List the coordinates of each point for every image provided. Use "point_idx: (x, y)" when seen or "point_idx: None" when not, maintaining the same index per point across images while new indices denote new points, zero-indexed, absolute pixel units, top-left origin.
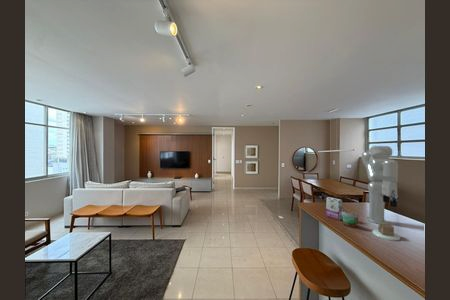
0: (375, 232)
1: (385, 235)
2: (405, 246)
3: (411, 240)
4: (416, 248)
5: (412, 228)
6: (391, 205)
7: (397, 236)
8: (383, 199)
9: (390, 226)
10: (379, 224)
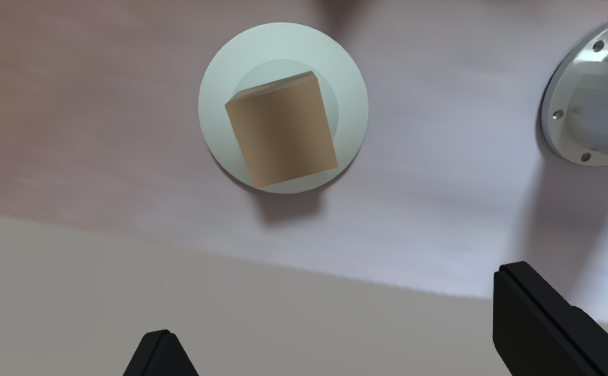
0: (266, 42)
1: None
2: (160, 192)
3: (288, 237)
4: (173, 236)
5: None
6: (146, 357)
7: None
8: (546, 311)
9: (256, 166)
10: (294, 83)
